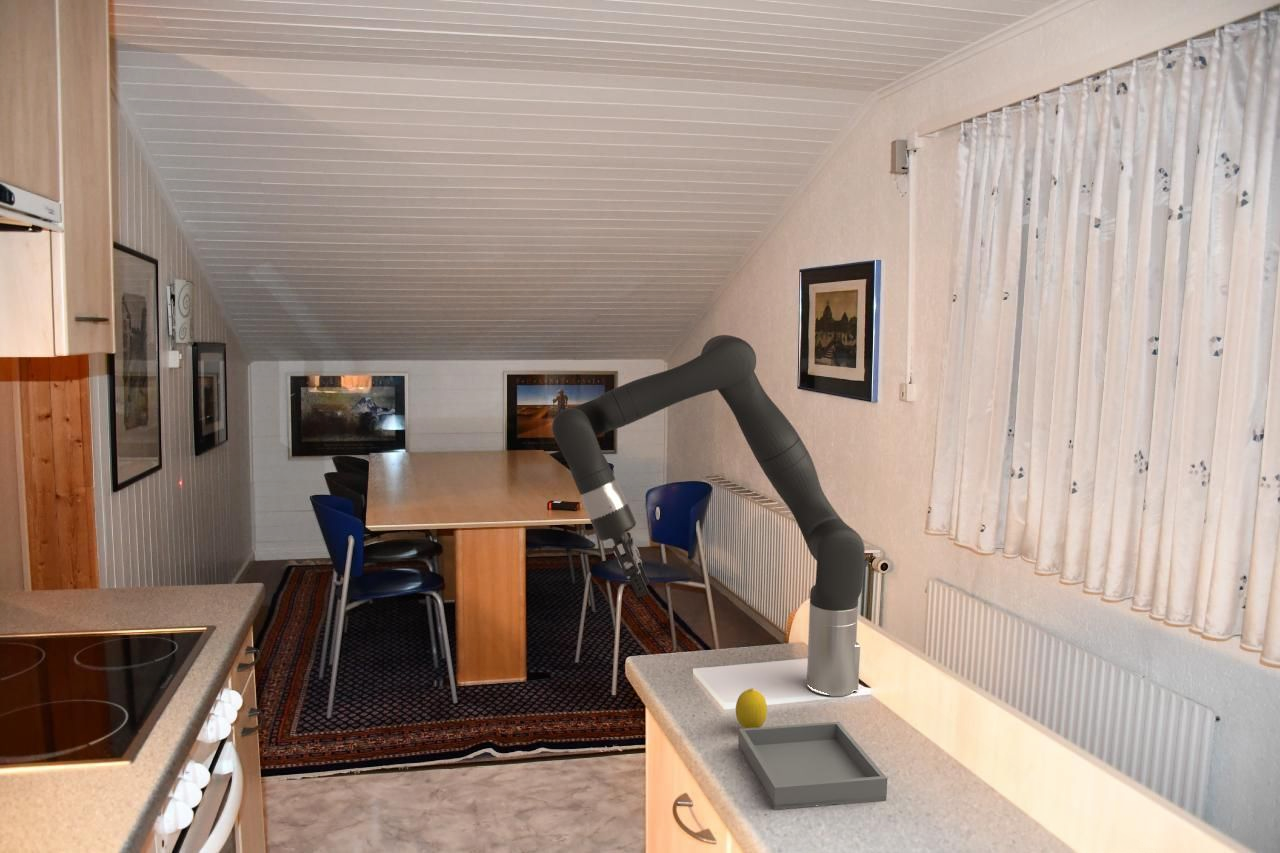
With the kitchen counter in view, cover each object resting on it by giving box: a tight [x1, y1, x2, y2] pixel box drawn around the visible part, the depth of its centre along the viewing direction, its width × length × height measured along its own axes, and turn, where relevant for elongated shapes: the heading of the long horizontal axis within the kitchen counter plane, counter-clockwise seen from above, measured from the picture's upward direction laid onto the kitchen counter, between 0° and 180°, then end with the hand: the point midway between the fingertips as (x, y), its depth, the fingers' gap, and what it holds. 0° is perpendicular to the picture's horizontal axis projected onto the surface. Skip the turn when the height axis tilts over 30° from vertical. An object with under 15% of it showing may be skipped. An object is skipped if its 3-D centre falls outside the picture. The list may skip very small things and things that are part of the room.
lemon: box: [735, 687, 768, 728], centre depth 175 cm, size 6×6×8 cm
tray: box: [737, 721, 888, 810], centre depth 160 cm, size 18×20×4 cm
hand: (643, 590), depth 181 cm, fingers open, 8 cm apart
